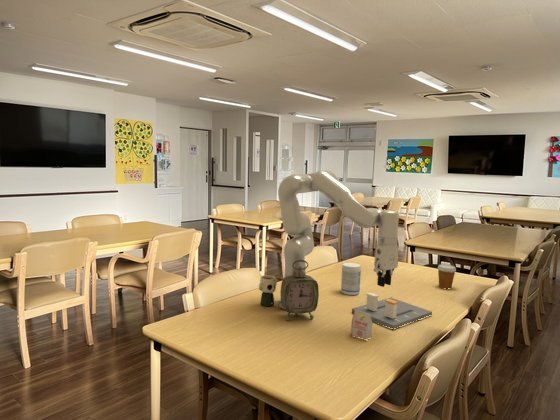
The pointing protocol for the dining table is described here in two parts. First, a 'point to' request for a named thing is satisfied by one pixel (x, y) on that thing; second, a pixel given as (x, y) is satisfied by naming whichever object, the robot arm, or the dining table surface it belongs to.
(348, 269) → the supplement tub
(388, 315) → the fader orange
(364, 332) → the tea bag
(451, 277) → the disposable coffee cup
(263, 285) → the character mug
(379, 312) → the panel
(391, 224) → the robot arm
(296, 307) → the tabletop clock
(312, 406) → the dining table surface
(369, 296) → the fader cream
